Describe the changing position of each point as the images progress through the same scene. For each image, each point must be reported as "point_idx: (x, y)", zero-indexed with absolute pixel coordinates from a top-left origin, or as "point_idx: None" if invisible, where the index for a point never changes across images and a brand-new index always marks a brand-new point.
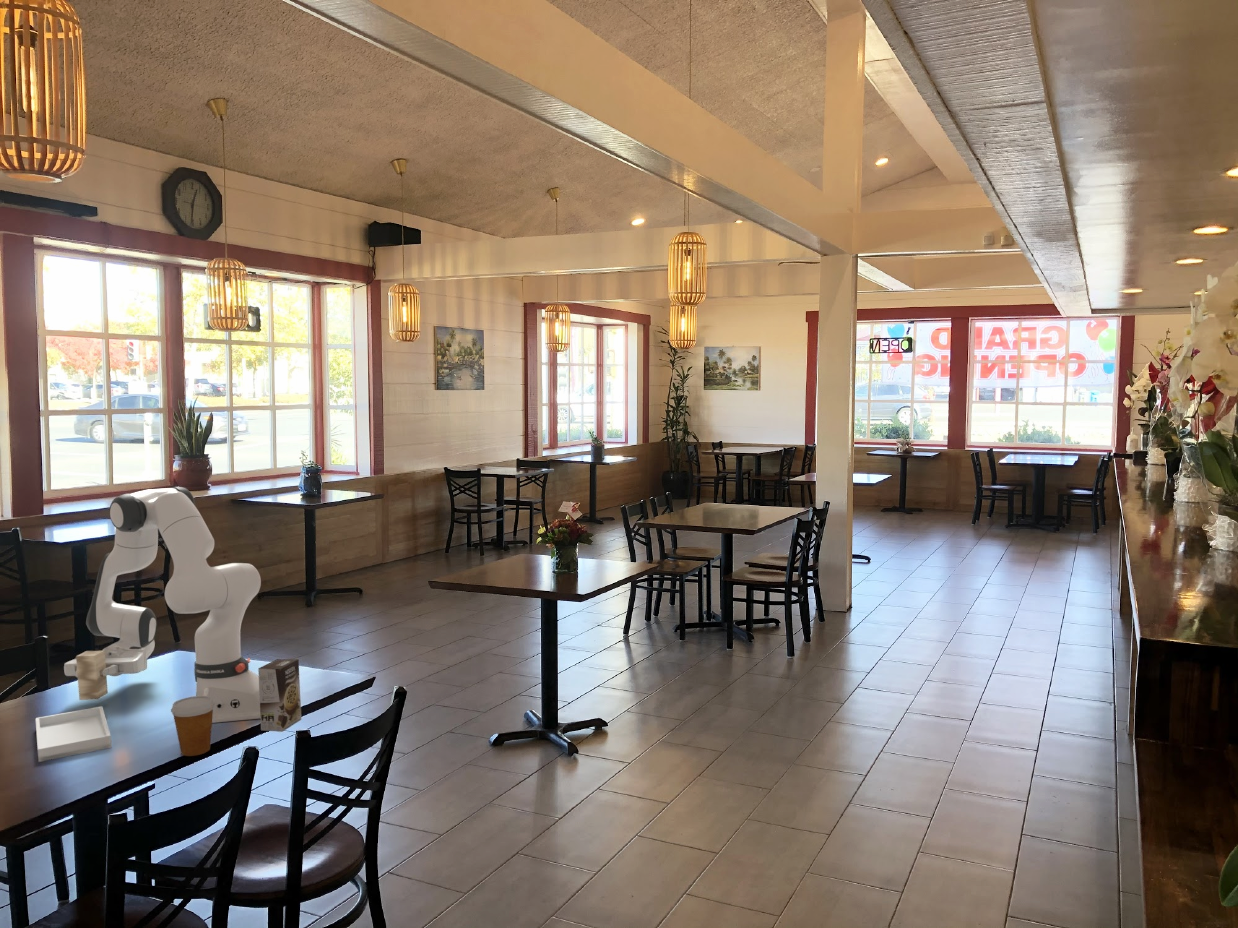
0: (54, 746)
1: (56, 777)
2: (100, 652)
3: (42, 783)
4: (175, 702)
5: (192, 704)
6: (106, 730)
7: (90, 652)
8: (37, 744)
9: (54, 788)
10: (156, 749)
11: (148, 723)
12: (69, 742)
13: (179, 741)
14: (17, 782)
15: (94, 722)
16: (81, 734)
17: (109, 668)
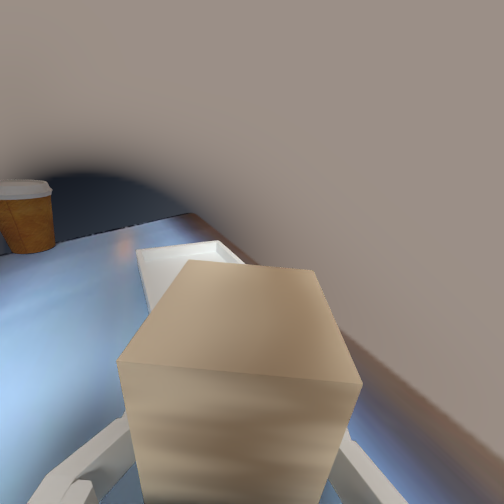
0: (202, 242)
1: (186, 236)
2: (159, 304)
3: (194, 232)
4: (38, 184)
5: (18, 184)
6: (142, 259)
7: (261, 322)
8: (226, 247)
9: (181, 227)
10: (80, 255)
11: (54, 329)
12: (187, 245)
13: (53, 228)
14: (217, 235)
15: None
16: None
17: (110, 427)
